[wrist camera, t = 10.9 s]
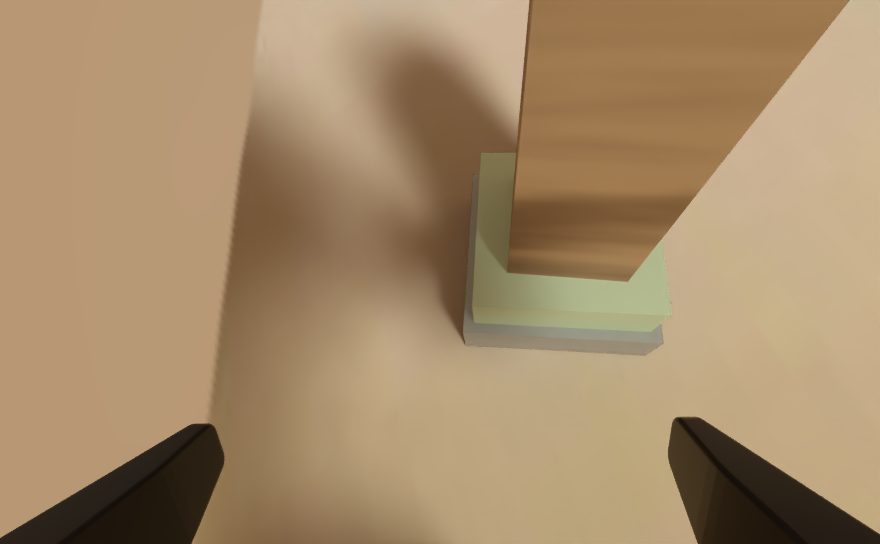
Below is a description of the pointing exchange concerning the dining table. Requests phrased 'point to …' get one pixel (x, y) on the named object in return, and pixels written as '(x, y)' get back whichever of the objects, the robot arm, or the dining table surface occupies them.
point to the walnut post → (638, 118)
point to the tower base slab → (545, 335)
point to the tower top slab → (553, 296)
